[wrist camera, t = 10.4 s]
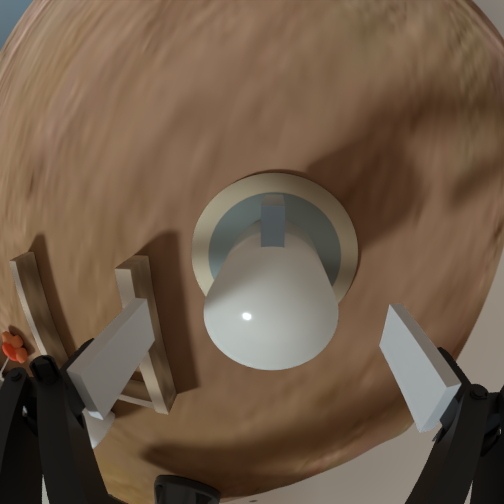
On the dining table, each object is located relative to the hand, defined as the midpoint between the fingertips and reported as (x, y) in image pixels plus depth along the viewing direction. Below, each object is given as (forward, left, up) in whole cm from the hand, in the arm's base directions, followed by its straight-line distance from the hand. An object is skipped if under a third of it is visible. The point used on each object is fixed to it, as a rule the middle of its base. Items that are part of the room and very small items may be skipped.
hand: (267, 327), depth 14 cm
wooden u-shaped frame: (-9, +21, -10) cm, 24 cm away
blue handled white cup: (+1, 0, -9) cm, 9 cm away
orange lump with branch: (-18, +43, -10) cm, 47 cm away
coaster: (0, 0, -10) cm, 10 cm away
